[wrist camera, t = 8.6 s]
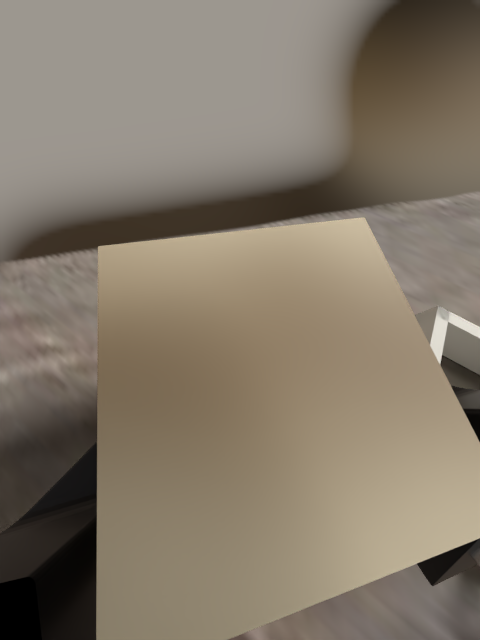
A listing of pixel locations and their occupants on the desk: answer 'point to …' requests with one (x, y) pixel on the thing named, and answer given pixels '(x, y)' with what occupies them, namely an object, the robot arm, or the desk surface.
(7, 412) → the desk surface
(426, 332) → the walled channel
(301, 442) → the birch block
